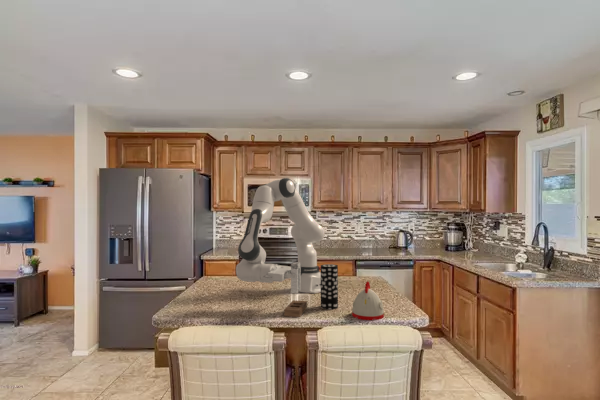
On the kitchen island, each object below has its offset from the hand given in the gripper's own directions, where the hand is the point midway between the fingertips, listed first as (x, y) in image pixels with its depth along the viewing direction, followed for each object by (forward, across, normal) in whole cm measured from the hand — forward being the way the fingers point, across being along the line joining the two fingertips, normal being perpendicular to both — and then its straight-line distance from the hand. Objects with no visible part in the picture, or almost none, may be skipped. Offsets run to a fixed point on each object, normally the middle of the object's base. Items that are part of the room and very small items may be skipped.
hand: (297, 274), depth 167 cm
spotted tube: (+13, +11, +17) cm, 24 cm away
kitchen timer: (+32, +1, +17) cm, 36 cm away
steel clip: (-1, 0, +8) cm, 8 cm away
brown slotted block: (-1, 0, +17) cm, 17 cm away
